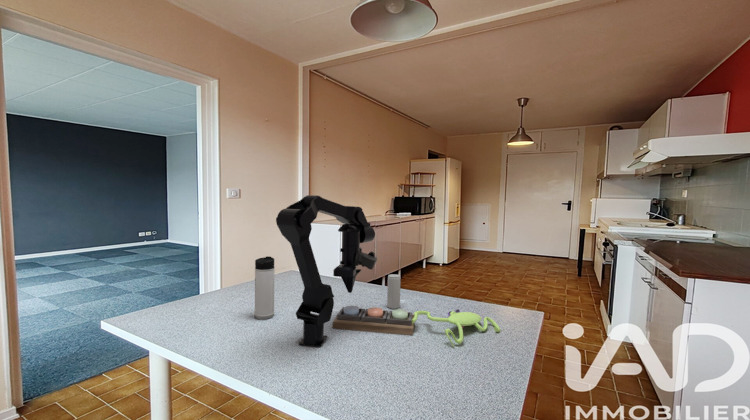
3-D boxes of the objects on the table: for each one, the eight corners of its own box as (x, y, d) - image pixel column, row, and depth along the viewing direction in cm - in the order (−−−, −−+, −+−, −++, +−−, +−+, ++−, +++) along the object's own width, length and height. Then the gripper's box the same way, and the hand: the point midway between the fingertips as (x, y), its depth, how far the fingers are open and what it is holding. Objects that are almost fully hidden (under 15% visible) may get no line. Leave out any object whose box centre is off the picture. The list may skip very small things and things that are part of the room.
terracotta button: (381, 321, 103) (381, 313, 103) (366, 319, 104) (366, 312, 103) (383, 315, 108) (384, 308, 108) (369, 314, 108) (369, 306, 108)
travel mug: (277, 313, 114) (277, 256, 113) (269, 320, 107) (269, 260, 107) (260, 312, 115) (260, 256, 114) (251, 319, 108) (251, 259, 107)
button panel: (412, 335, 98) (413, 324, 98) (332, 328, 102) (332, 317, 102) (414, 320, 109) (414, 310, 109) (342, 314, 114) (342, 305, 114)
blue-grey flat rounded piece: (356, 319, 104) (357, 311, 104) (341, 317, 105) (341, 310, 105) (360, 313, 109) (360, 306, 109) (345, 312, 110) (345, 305, 110)
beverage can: (399, 309, 120) (399, 277, 119) (386, 308, 121) (386, 276, 120) (400, 305, 125) (401, 274, 124) (388, 304, 126) (388, 273, 125)
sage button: (407, 323, 101) (407, 315, 101) (391, 321, 102) (391, 313, 102) (408, 317, 106) (408, 309, 106) (392, 316, 107) (393, 308, 107)
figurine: (403, 329, 103) (404, 311, 103) (461, 313, 118) (461, 298, 118) (446, 352, 88) (446, 332, 88) (506, 331, 103) (507, 314, 103)
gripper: (369, 250, 95) (368, 303, 96) (379, 242, 114) (379, 286, 114) (333, 248, 97) (332, 300, 98) (348, 240, 116) (348, 284, 116)
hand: (350, 292), depth 107 cm, fingers closed
